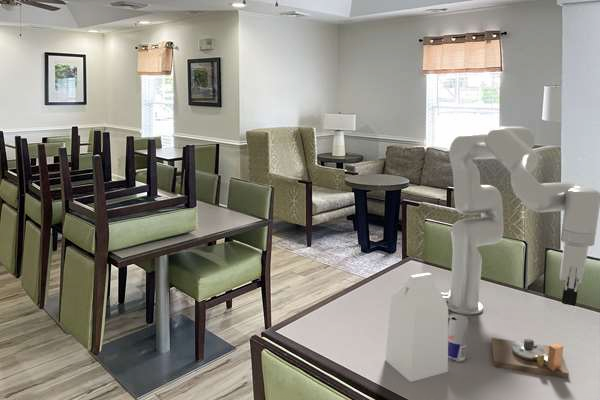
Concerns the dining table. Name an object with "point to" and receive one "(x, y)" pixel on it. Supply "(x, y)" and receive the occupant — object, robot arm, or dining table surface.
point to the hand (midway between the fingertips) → (568, 303)
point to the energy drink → (457, 337)
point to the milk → (418, 329)
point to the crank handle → (550, 361)
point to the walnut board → (510, 361)
